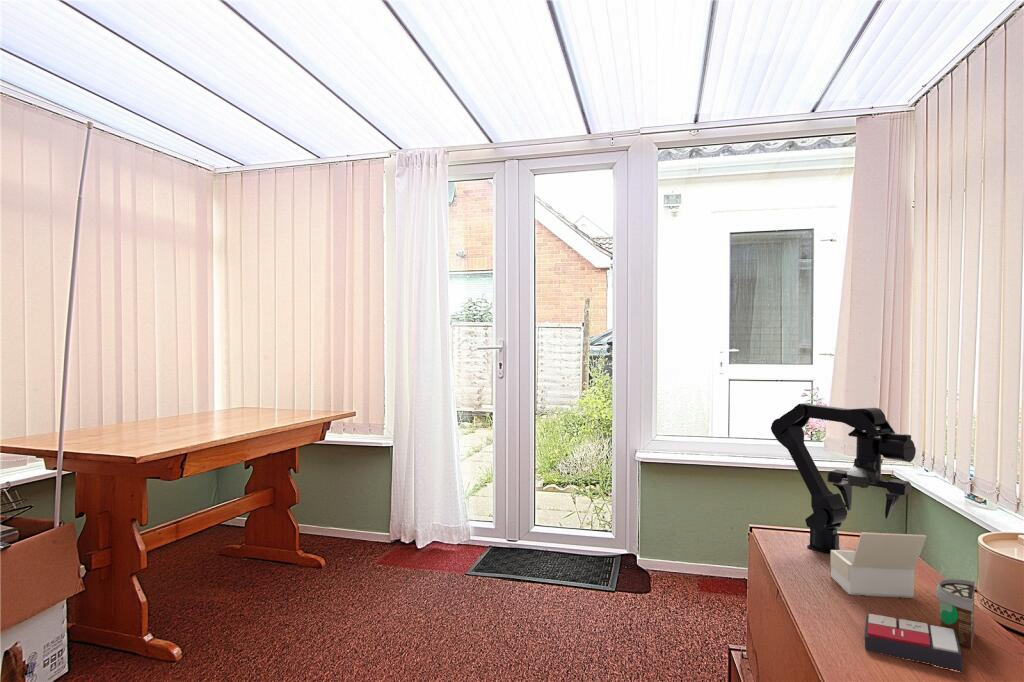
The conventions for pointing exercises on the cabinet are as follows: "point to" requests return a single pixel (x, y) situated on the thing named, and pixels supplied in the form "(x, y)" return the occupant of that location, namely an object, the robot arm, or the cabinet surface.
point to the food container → (957, 608)
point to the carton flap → (888, 550)
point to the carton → (870, 578)
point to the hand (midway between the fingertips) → (867, 514)
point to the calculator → (913, 641)
